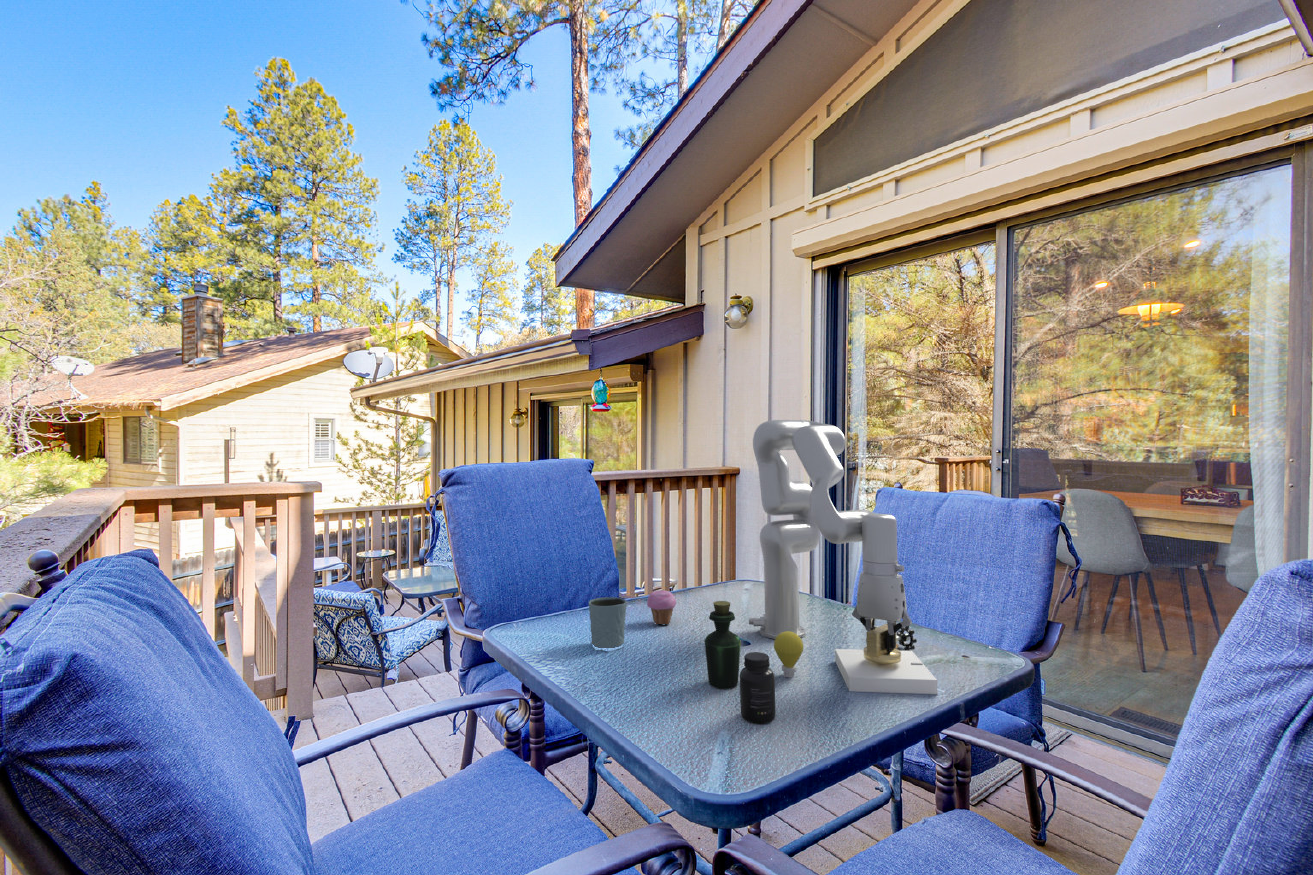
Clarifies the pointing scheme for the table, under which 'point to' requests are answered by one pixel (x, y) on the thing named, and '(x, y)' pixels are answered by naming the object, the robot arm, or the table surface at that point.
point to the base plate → (885, 674)
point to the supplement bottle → (757, 689)
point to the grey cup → (607, 621)
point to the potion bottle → (722, 649)
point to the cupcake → (661, 606)
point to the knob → (880, 647)
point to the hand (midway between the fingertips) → (881, 648)
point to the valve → (904, 638)
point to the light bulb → (788, 651)
